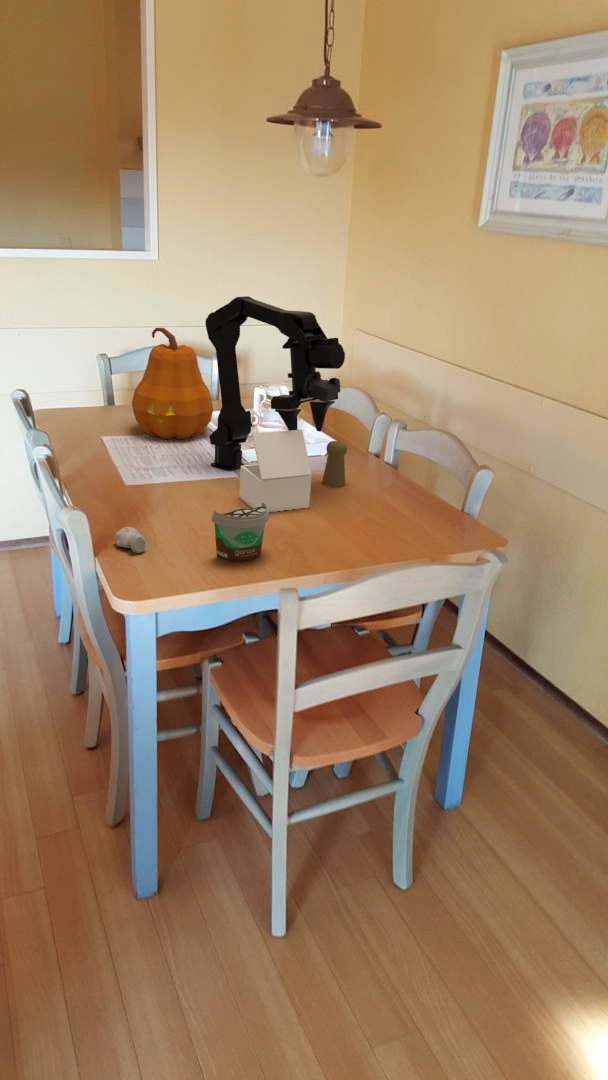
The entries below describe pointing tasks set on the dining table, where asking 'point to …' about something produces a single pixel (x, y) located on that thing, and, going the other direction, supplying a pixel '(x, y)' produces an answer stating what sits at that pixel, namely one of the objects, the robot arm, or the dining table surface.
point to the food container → (240, 534)
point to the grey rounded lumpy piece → (130, 539)
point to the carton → (274, 490)
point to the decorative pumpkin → (172, 392)
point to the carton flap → (281, 454)
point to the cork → (335, 464)
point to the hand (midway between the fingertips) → (307, 434)
